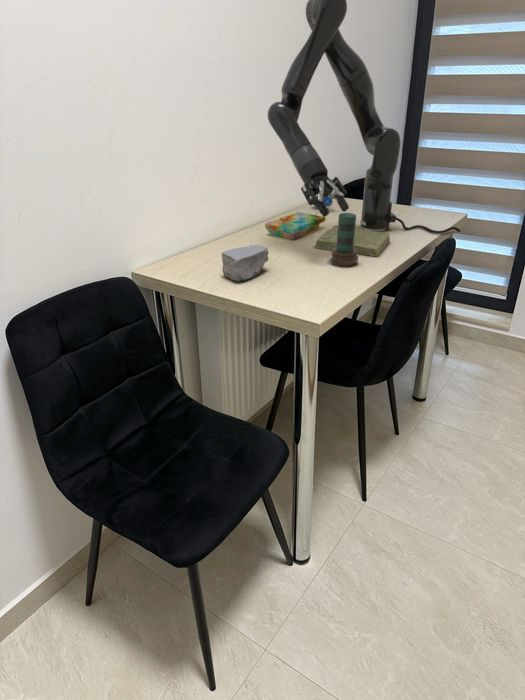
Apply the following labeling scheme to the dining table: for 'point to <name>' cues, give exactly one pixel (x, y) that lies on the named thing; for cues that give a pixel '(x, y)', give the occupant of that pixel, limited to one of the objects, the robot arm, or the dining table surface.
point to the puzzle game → (294, 225)
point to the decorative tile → (356, 240)
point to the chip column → (346, 232)
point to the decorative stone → (244, 262)
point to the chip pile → (344, 258)
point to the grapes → (326, 200)
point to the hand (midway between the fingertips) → (336, 212)
